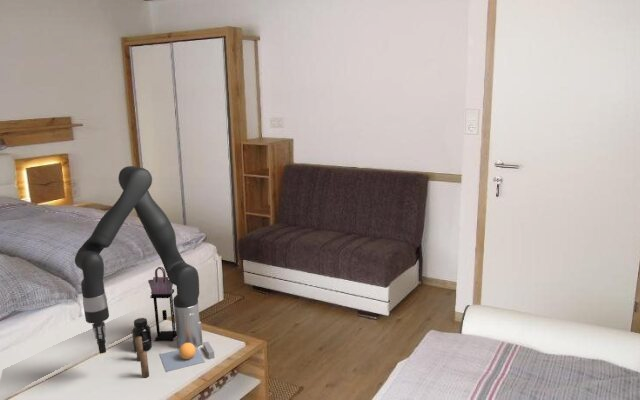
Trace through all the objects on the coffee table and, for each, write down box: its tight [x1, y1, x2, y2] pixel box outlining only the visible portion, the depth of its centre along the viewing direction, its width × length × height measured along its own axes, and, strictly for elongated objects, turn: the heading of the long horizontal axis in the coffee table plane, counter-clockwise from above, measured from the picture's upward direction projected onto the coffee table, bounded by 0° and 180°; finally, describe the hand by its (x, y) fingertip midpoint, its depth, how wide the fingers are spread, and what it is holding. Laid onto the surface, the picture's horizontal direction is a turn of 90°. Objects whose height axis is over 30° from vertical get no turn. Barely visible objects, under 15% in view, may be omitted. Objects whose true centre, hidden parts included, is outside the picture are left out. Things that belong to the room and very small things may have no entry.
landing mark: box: [159, 347, 206, 373], centre depth 197 cm, size 14×14×1 cm
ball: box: [178, 343, 196, 359], centre depth 196 cm, size 6×6×6 cm
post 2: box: [140, 351, 150, 379], centre depth 184 cm, size 2×2×9 cm
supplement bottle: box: [131, 317, 153, 352], centre depth 203 cm, size 7×7×12 cm
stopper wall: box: [202, 341, 215, 360], centre depth 200 cm, size 2×9×2 cm, turn 26°
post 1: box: [135, 336, 143, 363], centre depth 195 cm, size 2×2×9 cm
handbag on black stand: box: [147, 266, 177, 342], centre depth 211 cm, size 10×8×30 cm
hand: (102, 352), depth 183 cm, fingers closed
